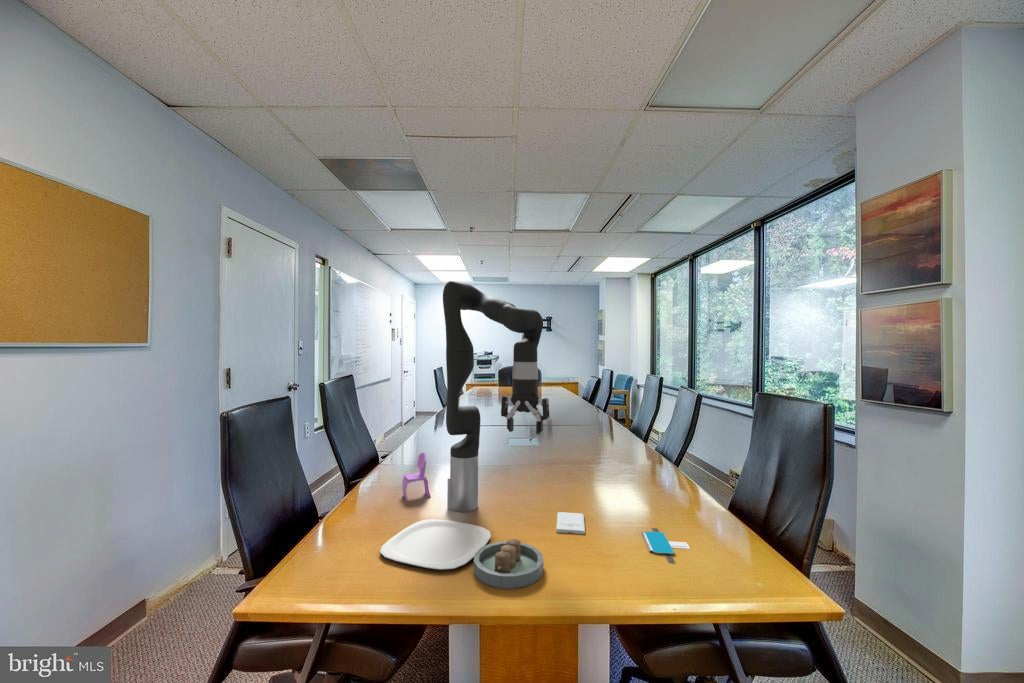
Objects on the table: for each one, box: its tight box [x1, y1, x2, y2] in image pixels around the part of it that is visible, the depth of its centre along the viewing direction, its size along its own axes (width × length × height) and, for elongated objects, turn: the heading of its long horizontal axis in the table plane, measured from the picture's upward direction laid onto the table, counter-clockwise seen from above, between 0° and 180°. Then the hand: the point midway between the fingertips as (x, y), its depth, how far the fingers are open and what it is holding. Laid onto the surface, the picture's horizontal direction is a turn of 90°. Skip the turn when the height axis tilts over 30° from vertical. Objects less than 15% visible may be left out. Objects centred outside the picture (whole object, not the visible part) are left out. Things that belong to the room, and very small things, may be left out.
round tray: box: [473, 540, 544, 590], centre depth 100 cm, size 16×16×3 cm
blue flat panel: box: [641, 527, 691, 564], centre depth 113 cm, size 20×12×2 cm, turn 173°
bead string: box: [495, 538, 522, 573], centre depth 100 cm, size 4×11×4 cm, turn 159°
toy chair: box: [401, 452, 432, 502], centre depth 147 cm, size 8×9×15 cm
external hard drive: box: [555, 511, 586, 535], centre depth 125 cm, size 2×8×12 cm
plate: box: [379, 518, 492, 571], centre depth 111 cm, size 25×25×2 cm
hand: (524, 432), depth 122 cm, fingers open, 8 cm apart
